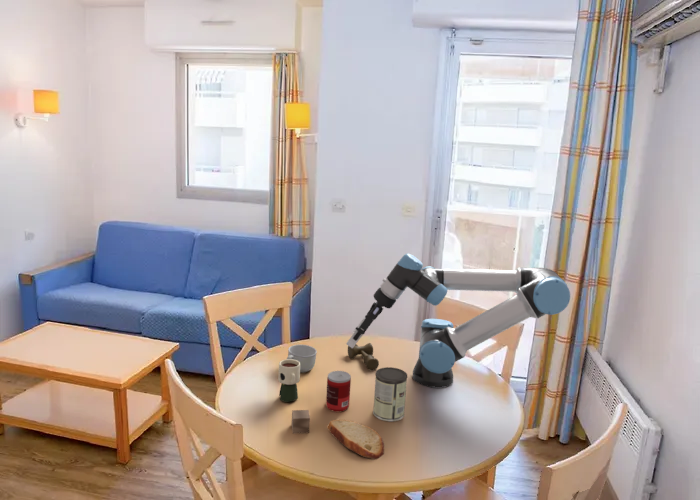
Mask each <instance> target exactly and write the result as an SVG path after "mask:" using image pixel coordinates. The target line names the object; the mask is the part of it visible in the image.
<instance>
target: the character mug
mask: <svg viewBox="0 0 700 500" xmlns="http://www.w3.org/2000/svg"><path fill="white" fill-rule="evenodd" d="M300 376H301V372H300V362H299V361H297V360H293V359H287V358H286V359H283V360H280V361H279V363H278V378H277V379H278V382H279V383H280V389H279V394H278V395H279V396H278V397H279V400H280V401H281V402H284V403H288V402H293V401H296V400H297V399H298V397H299V396H298V394H299V391H298V386H297V384H298V383H299V382H300V380H301V379H300V378H301V377H300Z"/></svg>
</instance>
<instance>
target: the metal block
mask: <svg viewBox="0 0 700 500" xmlns="http://www.w3.org/2000/svg"><path fill="white" fill-rule="evenodd" d="M310 417H311V416H310V411H309V409H293V410H291V431H292V434H310V429H311V428H310V424H311V423H310V422H311V418H310Z"/></svg>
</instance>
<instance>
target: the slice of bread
mask: <svg viewBox="0 0 700 500" xmlns="http://www.w3.org/2000/svg"><path fill="white" fill-rule="evenodd" d="M327 429H328V431H329V432H330V434H331V435H332V436H333V437H334V438H336V440H337V441H338V442H339V443H341V444H342V445H343V446H344V447H345V448H347V449H348V450H350V451H352V452H354V453H355V454H357V455H359V456H361V457H363V458H366V459H369V460H370V459H373V460H378V459H379V458H381V457H382V456H383V455H384V454H385V443H384V440H383V438H382V436H381V435H380V434H379V433H378V431H376V430H375V429H373V428H372V427H370V426H368V425H366V424H365V425H364V424H361V423H359V422H357V421H354V420H348V419H341V418H340V419H333V420H332V419H331V420H330V421H329V423H328V424H327Z"/></svg>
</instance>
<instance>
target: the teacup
mask: <svg viewBox="0 0 700 500" xmlns="http://www.w3.org/2000/svg"><path fill="white" fill-rule="evenodd" d="M287 349H288V352H287V353H288V354H287V357H286V359H293V360H297V361H299V362H300V373H306V372H309V371H310V370H312V369H314V367H315V364H316V359H317V353H318V352H317V349H316V348H315V347H313V346H310V345H308V344H294V345H290V346H289V347H288V348H287Z"/></svg>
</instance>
